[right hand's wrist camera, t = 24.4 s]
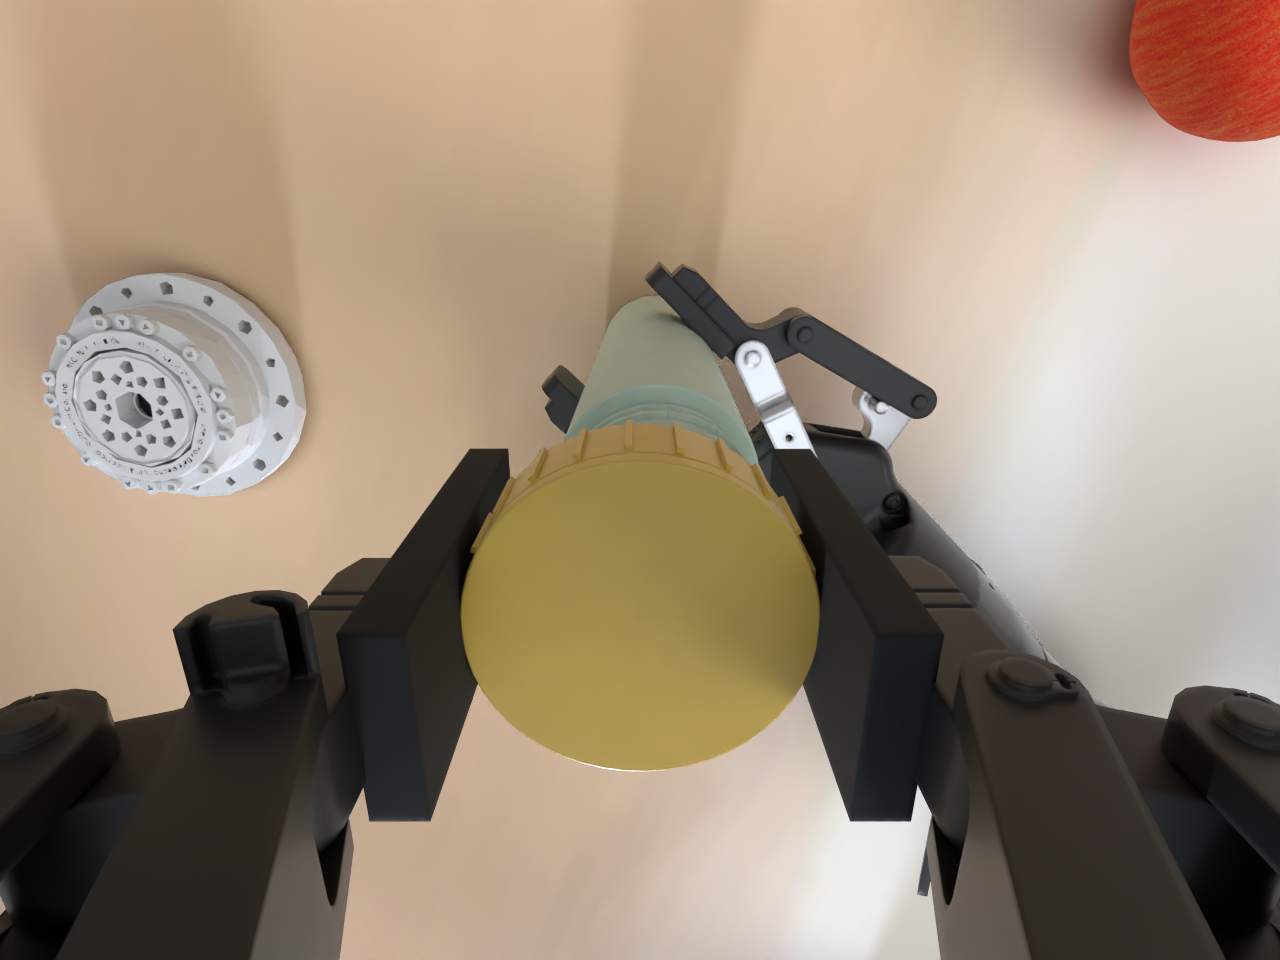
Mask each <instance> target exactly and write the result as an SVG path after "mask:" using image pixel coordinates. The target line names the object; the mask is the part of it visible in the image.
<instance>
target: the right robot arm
mask: <svg viewBox="0 0 1280 960" xmlns="http://www.w3.org/2000/svg"><path fill="white" fill-rule="evenodd" d="M509 479H510V469H509V455H508V449H469V451H468V452H467V453H466V455H465V456H464V458H463V459H462V460H461V462H460V463H459V465H458V466H457V467H456V469H455V470H454V471H453V473H452V474H451V476H450V477H449V478H448V480H447V481H446V483H445V484H444V485H443V487H442V488H441V489H440V491H439V492H438V494H437V495H436V496H435V498H434V499H433V501H432V502H431V503H430V505H429V506H428V507H427V509H426V510H425V512H424V513H423V514H422V516H421V517H420V519H419V520H418V521H417V523H416V524H415V525H414V527H413V528H412V530H411V531H410V532H409V534H408V535H407V536H406V538H405V539H404V541H403V542H402V543H401V545H400V546H399V548H398V549H397V550H396V552H395V553H394V554H393V556H392V557H391V558H362V559H360V560H359V561H357V562H355V563H354V564H352V565H350V566H348V567H347V568H345V569H343V570H342V571H340V572H338V573H337V574H336V575H335V576H334V577H333V578H332V580H331V581H330V582H329V583H328V584H327V586H326V587H325V588H324V589H323V590H322V592H321V595H318V596H317V597H316V599H315V600H314V601H313V602H312V603H311V605H310V606H309V609H308V604H307V601H306V600H305V599H303V598H302V597H300V596H299V595H298V594H296V593H291V592H286V591H281V590H268V591H253V592H248V593H243V594H238V595H233V596H229V597H226V598H224V599H221V600H218V601H215V602H213V603H210V604H207V605H205V606H203V607H201V608H200V609H198V610H196V611H194V612H193V613H191V614H189V615H187V616H186V617H185V618H184V619H183V620H182V621H181V622H180V623H179V624H178V625H177V626H176V627H175V628H174V629H173V633H174V636H175V640H176V644H177V647H178V651H179V655H180V658H181V662H182V665H183V669H184V673H185V676H186V680H187V684H188V687H189V691H190V696H189V698H188V700H187V702H186V704H185V706H184V708H181V709H177V710H173V711H169V712H164V713H159V714H154V715H148V716H143V717H138V718H133V719H128V720H123V721H118V722H114V721H113V718H112V715H111V711H110V708H109V705H108V702H107V699H105V698H104V697H103V696H101V695H100V694H99V693H97V692H96V691H89V690H81V689H70V690H62V691H54V692H52V691H51V692H45V693H40V694H36V695H35V696H34V697H32V696H29V697H26V698H23V699H20V700H17V701H15V702H13V703H11V704H10V705H8V706H6V707H4V708H2V709H0V896H1V898H2V901H3V903H4V905H5V907H6V910H5V911H4V912H3V913H2V914H1V915H0V960H339V958H340V950H341V943H342V935H343V927H344V919H345V912H346V904H347V896H348V888H349V881H350V873H351V865H352V857H353V850H354V846H353V839H352V832H351V827H350V822H349V816H350V814H351V812H352V809H353V807H354V805H355V803H356V801H357V799H358V797H359V795H360V793H361V791H362V789H363V788H364V793H365V799H366V804H367V810H368V815H369V821H431V818H432V815H433V812H434V809H435V806H436V803H437V800H438V798H439V795H440V792H441V789H442V786H443V783H444V780H445V777H446V774H447V771H448V769H449V766H450V763H451V760H452V757H453V754H454V751H455V748H456V745H457V742H458V740H459V737H460V734H461V731H462V728H463V725H464V722H465V719H466V716H467V713H468V711H469V708H470V705H471V702H472V699H473V696H474V693H475V690H476V687H477V684H478V682H477V680H476V678H475V677H474V675H473V673H472V670H471V667H470V665H469V662H468V659H467V657H466V654H465V649H464V643H463V635H462V625H461V615H460V605H461V593H462V589H463V585H464V581H465V577H466V573H467V570H468V568H469V566H470V563H471V561H472V558H473V556H474V553H471V552H470V550H471V548H472V545H473V543H474V541H475V539H476V537H477V535H478V534H479V532H480V530H481V528H482V526H483V524H484V522H485V520H486V518H487V516H488V514H489V512H490V513H492V514H494V513H493V510H494V508H495V506H496V503H497V501H498V499H499V497H500V495H501V493H502V491H503V489H504V487H505V485H506V483H507V481H508V480H509ZM770 486H771V487H772V489H773V490H774V492H775V493H776V495H777V496H778V498H779V497H781V496H784V498H785V500H786V502H787V504H788V506H789V508H790V510H791V512H792V514H793V516H794V517H795V519H796V521H797V523H798V525H799V527H800V529H801V531H802V534H800V535H799V536H800V538H801V540H802V542H803V544H804V546H805V548H806V550H807V552H808V554H809V556H810V559H811V561H812V563H813V565H814V567H815V569H816V573H815V578H816V581H817V586H818V592H819V598H820V621H819V631H818V640H817V648H816V652H815V655H814V659H813V662H812V665H811V667H810V669H809V671H808V674H807V676H806V678H805V680H804V682H803V686H804V689H805V692H806V695H807V698H808V701H809V703H810V706H811V709H812V712H813V715H814V718H815V721H816V724H817V727H818V730H819V732H820V735H821V738H822V741H823V744H824V747H825V750H826V753H827V756H828V759H829V761H830V764H831V767H832V770H833V773H834V776H835V779H836V782H837V785H838V788H839V790H840V793H841V796H842V799H843V802H844V805H845V808H846V811H847V814H848V817H849V819H850V821H911V818H912V812H913V807H914V801H915V796H916V790H917V785H918V786H919V788H920V790H921V792H922V794H923V797H924V799H925V801H926V803H927V805H928V807H929V809H930V811H931V813H932V817H931V822H930V827H929V832H928V837H927V843H926V848H925V853H924V858H923V863H922V868H921V874H920V879H919V886H918V893H917V894H918V895H923V896H927V894H928V890H929V885H930V881H931V887H932V894H933V902H934V910H935V918H936V925H937V933H938V941H939V948H940V956H941V960H1280V910H1279V909H1278V908H1277V907H1276V905H1277V902H1278V900H1279V898H1280V705H1279V704H1277V703H1274V702H1272V701H1271V700H1270V699H1268V698H1266V697H1263V696H1260V695H1257V694H1254V693H1250V694H1249V693H1247V691H1243V690H1238V689H1234V688H1222V687H1213V686H1199V687H1191V688H1185V689H1184V690H1183V691H1181V692H1180V693H1179V694H1177V695H1176V696H1175V698H1174V701H1173V704H1172V707H1171V710H1170V713H1169V716H1168V719H1164V718H1159V717H1154V716H1148V715H1143V714H1138V713H1133V712H1128V711H1123V710H1118V709H1113V708H1108V707H1104V706H1100V705H1096V704H1095V703H1094V701H1093V699H1092V697H1091V695H1090V693H1089V692H1088V691H1087V690H1086V688H1085V687H1084V686H1083V685H1082V683H1081V682H1080V681H1079V680H1078V679H1077V678H1076V677H1074V676H1073V675H1071V674H1070V673H1068V672H1067V671H1065V670H1064V669H1062V668H1061V667H1059V666H1058V665H1055V664H1053V663H1050V662H1048V661H1046V660H1043V659H1041V658H1039V657H1036V656H1033V655H1029V654H1024V653H1020V652H1016V651H1012V650H1011V649H1010V648H1009V647H1008V646H1007V644H1006V643H1005V642H1004V641H1003V640H1002V639H1001V637H1000V636H999V635H998V634H997V633H996V631H995V630H994V629H993V628H992V627H991V626H990V624H989V623H988V622H987V621H986V620H985V619H984V617H983V616H982V615H981V614H980V613H979V611H978V610H977V609H976V608H973V607H972V603H971V602H970V601H969V600H968V599H967V597H966V596H965V595H964V594H963V593H960V589H959V588H958V587H957V586H956V584H955V583H954V582H953V581H952V580H951V578H950V577H949V576H948V575H947V574H946V573H945V571H943V570H941V569H940V568H938V567H936V566H935V565H933V564H931V563H930V562H928V561H926V560H925V559H923V558H921V557H919V556H888V555H887V554H886V552H885V551H884V550H883V548H882V547H881V546H880V544H879V543H878V541H877V540H876V539H875V537H874V536H873V534H872V533H871V532H870V530H869V529H868V528H867V526H866V525H865V523H864V522H863V521H862V519H861V518H860V516H859V515H858V514H857V512H856V511H855V510H854V508H853V507H852V505H851V504H850V503H849V501H848V500H847V498H846V497H845V496H844V494H843V493H842V492H841V490H840V489H839V487H838V486H837V485H836V483H835V482H834V480H833V479H832V478H831V476H830V475H829V474H828V472H827V471H826V469H825V468H824V467H823V465H822V464H821V463H820V461H819V460H818V458H817V457H816V456H815V454H814V453H813V451H812V450H811V449H772V461H771V475H770Z"/></svg>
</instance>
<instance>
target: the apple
mask: <svg viewBox="0 0 1280 960" xmlns="http://www.w3.org/2000/svg"><path fill="white" fill-rule="evenodd" d="M1129 58H1130V66H1131V70H1132V73H1133V76H1134V79H1135V81H1136V83H1137V84H1138V86H1139V88H1140V90H1141V91H1142V93H1143V94H1144V95H1145V97H1146V98H1147V100H1148V101H1149V103H1150V104H1151V106H1152V107H1153V108H1154V110H1155V111H1156V112H1157V113H1158V114H1159V116H1161V117H1162V118H1163V119H1164V120H1165V121H1166V122H1167V123H1169V124H1170V125H1172V126H1173V127H1175V128H1177V129H1179V130H1181V131H1183V132H1186V133H1189V134H1192V135H1195V136H1198V137H1202V138H1207V139H1211V140H1218V141H1227V142H1244V141H1257V140H1262V139H1267V138H1271V137H1275V136H1279V135H1280V0H1137V2H1136V6H1135V10H1134V15H1133V20H1132V26H1131V33H1130V43H1129Z"/></svg>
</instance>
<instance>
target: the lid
mask: <svg viewBox="0 0 1280 960" xmlns="http://www.w3.org/2000/svg"><path fill="white" fill-rule="evenodd" d="M493 513H494V514H492V513H490V512H489V514H488V516H487V518H486V520H485V522H484V524H483V526H482V528H481V530H480V532H479V534H478V535H477V537H476V539H475V541H474V543H473V545H472V548H471V550H470V552H471V553H474V556H473V558H472V561H471V563H470V566H469V568H468V570H467V573H466V577H465V581H464V585H463V589H462V593H461V605H460V615H461V625H462V635H463V643H464V649H465V654H466V657H467V659H468V662H469V665H470V667H471V670H472V673H473V675H474V677H475V678H476V680H477V682H478V684H479V686H480V688H481V689H482V691H483V693H484V694H485V695H486V697H487V698H488V699H489V701H490V702H491V703H492V705H493V706H494V707H495V709H496V710H497V711H498V712H499V713H500V714H501V715H502V716H503V717H504V718H505V719H506V720H507V721H508V722H509V723H510V724H511V725H512V726H514V727H515V728H516V729H517V730H519V731H520V732H521V733H522V734H524V735H525V736H526V737H528V738H529V739H531V740H533V741H534V742H536V743H537V744H539V745H541V746H542V747H544V748H546V749H548V750H550V751H552V752H554V753H556V754H558V755H561V756H563V757H566V758H568V759H571V760H574V761H577V762H580V763H583V764H587V765H591V766H595V767H600V768H605V769H612V770H620V771H641V772H647V771H660V770H670V769H675V768H681V767H686V766H690V765H694V764H697V763H701V762H704V761H707V760H710V759H713V758H715V757H717V756H720V755H722V754H725V753H727V752H729V751H731V750H733V749H735V748H736V747H738V746H740V745H742V744H744V743H745V742H747V741H749V740H750V739H751V738H753V737H754V736H756V735H757V734H758V733H760V732H761V731H763V730H764V729H765V728H766V727H767V726H768V725H769V724H770V723H772V722H773V721H774V720H775V719H776V718H777V717H778V716H779V715H780V714H781V713H782V712H783V710H784V709H785V708H786V707H787V706H788V704H789V703H790V702H791V701H792V700H793V698H794V696H795V695H796V693H797V692H798V690H799V689H800V687H801V686H802V684H803V682H804V680H805V678H806V676H807V674H808V671H809V669H810V667H811V665H812V662H813V659H814V655H815V652H816V648H817V640H818V631H819V621H820V598H819V592H818V586H817V581H816V578H815V573H816V569H815V567H814V565H813V563H812V561H811V559H810V556H809V554H808V552H807V550H806V548H805V546H804V544H803V542H802V540H801V538H800V536H799V535H800V534H802V531H801V529H800V527H799V525H798V523H797V521H796V519H795V517H794V516H793V514H792V512H791V510H790V508H789V506H788V504H787V502H786V500H785V498H784V496H781V497H779V498H778V496H777V495H776V493H775V492H774V490H773V489H772V487H771V486H770V485H769V483H768V482H767V480H766V478H765V476H764V474H763V472H762V470H761V468H760V466H759V465H758V464H757V463H754V464H753V465H751V464H750V463H749V462H747V461H746V460H745V459H744V458H742V457H741V456H740V455H739V454H737V453H736V452H734V451H733V450H731V449H729V448H728V447H726V445H725V442H724V440H723V439H721V438H719V437H718V438H717V440H716V441H715V440H713V439H710V438H708V437H706V436H704V435H701V434H699V433H695V432H692V431H688V430H685V429H682V428H681V425H680V424H679V423H675V422H674V423H673V427H672V426H665V425H659V424H636V423H634V424H633V419H631V420H626V424H624V425H613V426H609V427H604V428H600V429H595V430H591V431H587V428H583V429H580V432H579V435H577V436H575V437H572V438H570V439H568V440H566V441H564V442H562V443H560V444H558V445H556V446H554V447H552V448H551V449H550V450H548V451H547V450H546V449H545V448H543V449H541V450H540V451H539V453H538V455H537V458H536V459H535V460H534V461H533V462H532V463H531V464H530V465H529V466H528V467H527V468H526V469H525V470H524V471H522V472H521V473H520V474H519V476H518V477H517V478H516V479H514V478H513V477H510V479H509V480H508V481H507V483H506V485H505V487H504V489H503V491H502V493H501V495H500V497H499V499H498V501H497V503H496V506H495V508H494V510H493Z"/></svg>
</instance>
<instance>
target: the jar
mask: <svg viewBox="0 0 1280 960" xmlns="http://www.w3.org/2000/svg"><path fill="white" fill-rule="evenodd" d="M631 419H633V424H634V423H636V424H659V425H665V426H672V427H673V423H674V422H675V423H679V424H680V425H681V428H682V429H685V430H688V431H692V432H695V433H699V434H701V435H704V436H706V437H708V438H710V439H713V440H715V441H716V440H717V438H718V437H719V438H721V439H723V440H724V442H725V445H726V447H728V448H729V449H731V450H733V451H734V452H736V453H737V454H739V455H740V456H741V457H742V458H744V459H745V460H746V461H747V462H749V463H750V464H751V465H753V464H754V463H757V464H758V459H757V454H756V451H755V448H754V445H753V443H752V440H751V438H750V436H749V433H748V431H747V429H746V427H745V424H744V422H743V420H742V417H741V415H740V413H739V411H738V408H737V406H736V404H735V401H734V399H733V397H732V395H731V392H730V390H729V388H728V386H727V383H726V381H725V379H724V376H723V374H722V372H721V370H720V367H719V365H718V363H717V360H716V358H715V356H714V354H713V351H712V349H711V348H710V347H709V346H708V345H707V343H706V342H705V341H704V340H703V339H702V338H701V337H700V336H699V335H697V334H696V333H695V331H694V330H693V329H692V328H691V327H690V326H689V325H688V324H687V323H686V322H685V321H684V320H683V319H682V318H681V317H680V316H679V315H678V314H677V313H676V312H675V311H674V310H673V309H672V308H671V307H670V306H669V305H668V304H667V303H666V302H665V300H664V299H663V298H662V297H661V296H658V295H652V296H644V297H641V298H638V299H635V300H633V301H631V302H629V303H627V304H626V305H625V306H623V307H622V308H621V309H620V310H619V311H618V312H617V313H616V314H615V315H614V317H613V318H612V320H611V322H610V323H609V325H608V328H607V330H606V333H605V335H604V338H603V341H602V343H601V346H600V348H599V351H598V354H597V356H596V359H595V361H594V364H593V367H592V369H591V372H590V374H589V377H588V380H587V382H586V385H585V387H584V390H583V392H582V395H581V398H580V400H579V403H578V405H577V408H576V411H575V413H574V416H573V418H572V421H571V424H570V426H569V429H568V431H567V434H566V437H565V439H564V441H566V440H568V439H570V438H572V437H575V436H577V435H579V432H580V429H583V428H587V431H591V430H595V429H600V428H604V427H609V426H613V425H624V424H626V420H631ZM758 465H759V464H758Z"/></svg>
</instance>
